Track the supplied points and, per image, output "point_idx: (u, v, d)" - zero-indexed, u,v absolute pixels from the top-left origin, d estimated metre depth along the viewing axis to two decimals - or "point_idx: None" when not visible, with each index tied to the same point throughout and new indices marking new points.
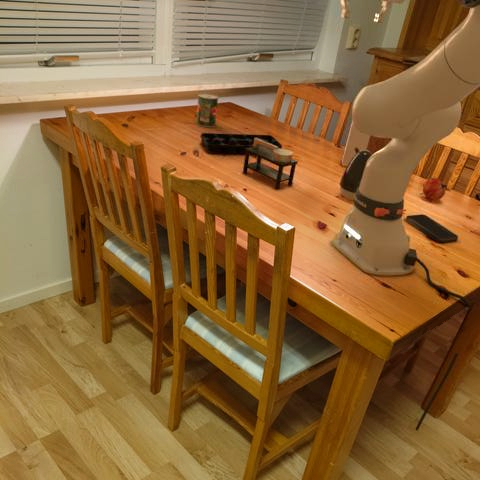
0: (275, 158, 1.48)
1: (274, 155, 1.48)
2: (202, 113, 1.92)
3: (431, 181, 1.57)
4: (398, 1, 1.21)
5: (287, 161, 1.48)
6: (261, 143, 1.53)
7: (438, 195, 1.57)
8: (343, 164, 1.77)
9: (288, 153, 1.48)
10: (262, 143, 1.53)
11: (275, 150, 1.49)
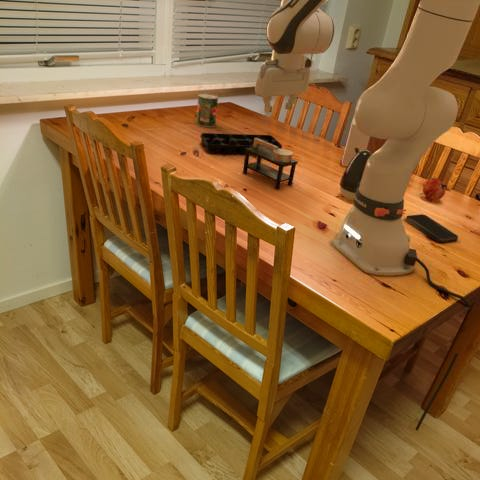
0: (275, 158, 1.48)
1: (274, 155, 1.48)
2: (202, 113, 1.92)
3: (431, 181, 1.57)
4: (302, 92, 1.46)
5: (287, 161, 1.48)
6: (261, 143, 1.53)
7: (438, 195, 1.57)
8: (343, 164, 1.77)
9: (288, 153, 1.48)
10: (262, 143, 1.53)
11: (275, 150, 1.49)
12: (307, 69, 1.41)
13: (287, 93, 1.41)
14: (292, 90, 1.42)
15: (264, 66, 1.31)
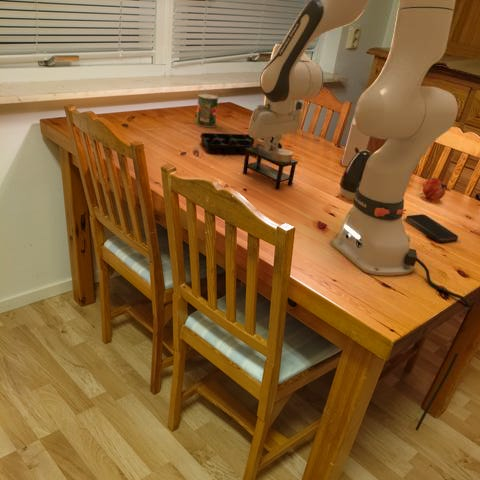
0: (275, 158, 1.48)
1: (274, 155, 1.48)
2: (202, 113, 1.92)
3: (431, 181, 1.57)
4: (293, 132, 1.53)
5: (287, 161, 1.48)
6: (261, 143, 1.53)
7: (438, 195, 1.57)
8: (343, 164, 1.77)
9: (288, 153, 1.48)
10: (262, 143, 1.53)
11: (275, 150, 1.49)
12: (298, 111, 1.48)
13: (279, 134, 1.48)
14: (284, 130, 1.49)
15: (256, 111, 1.38)
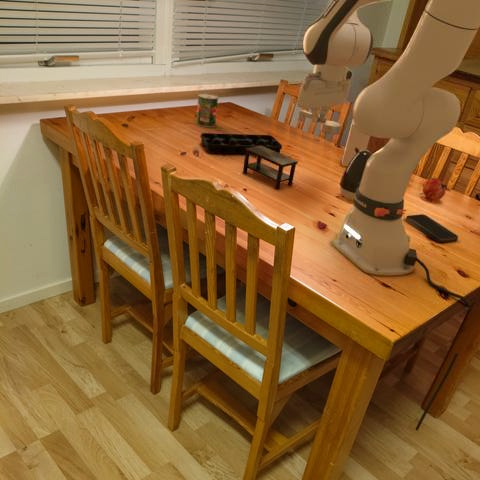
0: (324, 130, 1.42)
1: (322, 127, 1.42)
2: (202, 113, 1.92)
3: (431, 181, 1.57)
4: (341, 103, 1.47)
5: (336, 133, 1.42)
6: (307, 115, 1.47)
7: (438, 195, 1.57)
8: (343, 164, 1.77)
9: (337, 125, 1.43)
10: (308, 115, 1.47)
11: (323, 122, 1.43)
12: (347, 81, 1.42)
13: (327, 104, 1.43)
14: (332, 101, 1.43)
15: (308, 79, 1.33)
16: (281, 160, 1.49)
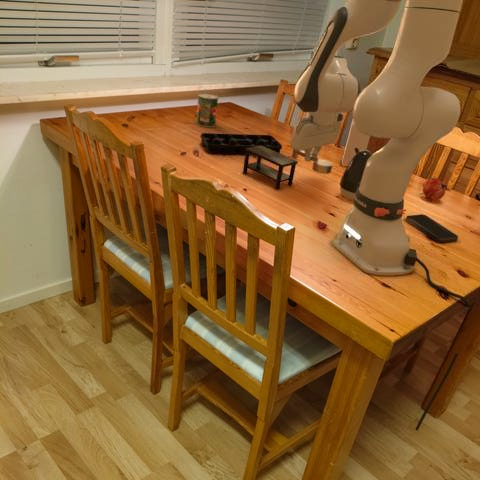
0: (316, 169, 1.50)
1: (314, 166, 1.50)
2: (202, 113, 1.92)
3: (431, 181, 1.57)
4: (333, 142, 1.54)
5: (327, 172, 1.50)
6: (300, 154, 1.54)
7: (438, 195, 1.57)
8: (343, 164, 1.77)
9: (328, 164, 1.50)
10: (301, 153, 1.54)
11: (315, 161, 1.50)
12: (338, 122, 1.49)
13: (319, 145, 1.50)
14: (324, 141, 1.51)
15: (300, 123, 1.40)
16: (281, 160, 1.49)
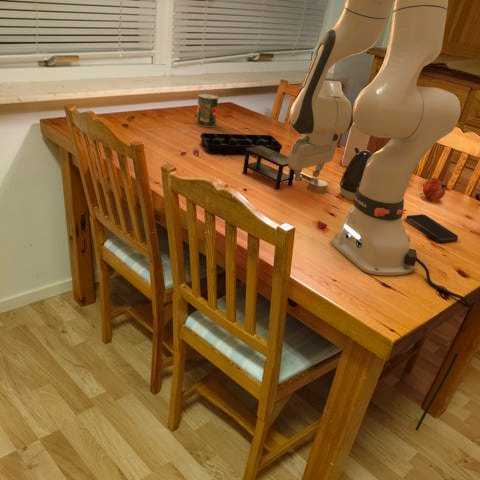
0: (311, 189, 1.53)
1: (310, 186, 1.53)
2: (202, 113, 1.92)
3: (431, 181, 1.57)
4: (329, 161, 1.58)
5: (323, 192, 1.53)
6: None
7: (438, 195, 1.57)
8: (343, 164, 1.77)
9: (324, 184, 1.54)
10: None
11: (311, 181, 1.54)
12: (334, 142, 1.53)
13: (316, 164, 1.53)
14: (320, 161, 1.54)
15: (296, 144, 1.43)
16: (281, 160, 1.49)
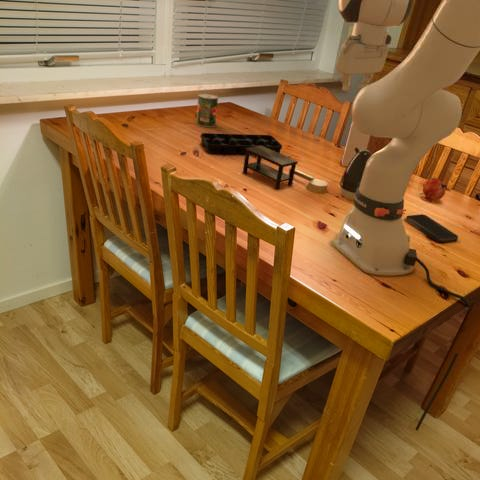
0: (311, 189, 1.53)
1: (310, 186, 1.53)
2: (202, 113, 1.92)
3: (431, 181, 1.57)
4: (378, 71, 1.43)
5: (323, 192, 1.53)
6: (296, 173, 1.58)
7: (438, 195, 1.57)
8: (343, 164, 1.77)
9: (324, 184, 1.54)
10: (297, 173, 1.58)
11: (311, 181, 1.54)
12: (386, 46, 1.38)
13: (366, 71, 1.38)
14: (370, 68, 1.39)
15: (348, 41, 1.28)
16: (281, 160, 1.49)
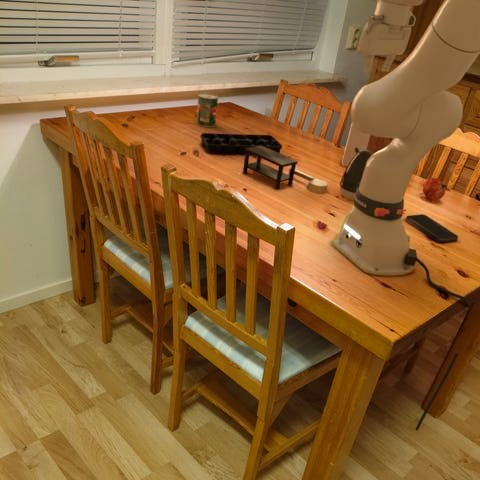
0: (311, 189, 1.53)
1: (310, 186, 1.53)
2: (202, 113, 1.92)
3: (431, 181, 1.57)
4: (400, 53, 1.40)
5: (323, 192, 1.53)
6: (296, 173, 1.58)
7: (438, 195, 1.57)
8: (343, 164, 1.77)
9: (324, 184, 1.54)
10: (297, 173, 1.58)
11: (311, 181, 1.54)
12: (409, 27, 1.35)
13: (388, 52, 1.35)
14: (392, 50, 1.36)
15: (372, 21, 1.25)
16: (281, 160, 1.49)
